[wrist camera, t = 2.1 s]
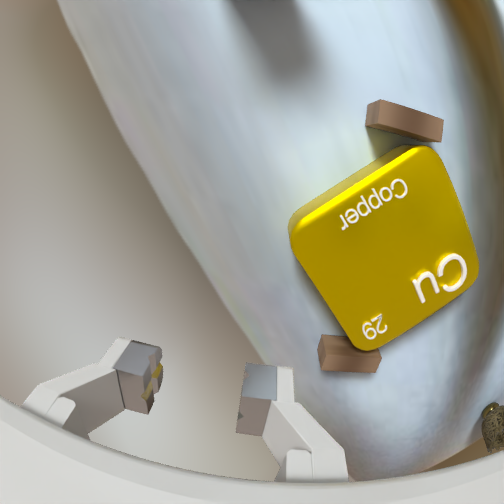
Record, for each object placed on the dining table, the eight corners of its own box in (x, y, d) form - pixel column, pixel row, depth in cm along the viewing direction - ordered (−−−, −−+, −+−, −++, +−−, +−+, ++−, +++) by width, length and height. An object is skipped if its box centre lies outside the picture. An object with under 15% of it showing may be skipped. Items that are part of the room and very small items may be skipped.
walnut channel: (425, 121, 23) (443, 119, 20) (367, 352, 31) (375, 372, 28) (367, 104, 23) (380, 99, 20) (317, 349, 31) (321, 370, 28)
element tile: (410, 136, 24) (434, 136, 19) (463, 262, 27) (486, 280, 23) (278, 220, 28) (279, 235, 23) (352, 335, 31) (362, 362, 27)
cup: (511, 390, 33) (530, 419, 26) (490, 419, 36) (506, 448, 28) (486, 394, 34) (506, 427, 26) (465, 424, 36) (480, 456, 28)
